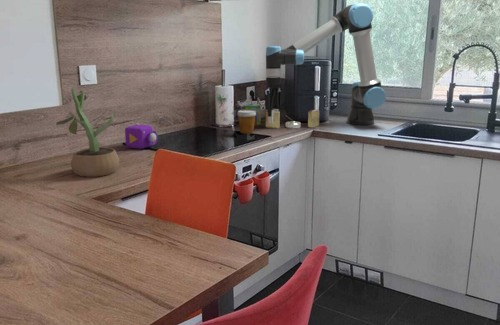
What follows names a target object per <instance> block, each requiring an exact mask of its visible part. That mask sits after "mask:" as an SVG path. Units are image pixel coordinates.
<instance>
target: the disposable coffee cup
mask: <svg viewBox="0 0 500 325" xmlns="http://www.w3.org/2000/svg"><path fill="white" fill-rule="evenodd" d="M236 115H237V118H238V125H239V133H241V134H244V135H246V134H253V133H254V130H255V129H254V128H255V125H254V122H255V116H256V112H255V111H254V110H244V109H241V110H238V111H237V113H236Z"/></svg>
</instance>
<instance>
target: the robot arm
mask: <svg viewBox="0 0 500 325" xmlns="http://www.w3.org/2000/svg"><path fill="white" fill-rule="evenodd" d="M373 18H374V11H373V9H372V7H370V6H369V5H368V4H366V3H361V2H360V3H358V2H357V3H353V4H350V5H347V6H346V7H344V8H342V10H340V11H339V12H337V13H336V14H335V15H333V16H331V19H330V20H329V21H327V22H326V23H324V24H323V25H321V26H319V27H317V28H316V29H315V30H313V31H312V32H310V33H308V34H307V35H305V36H303V37H302V38H300V39H299V40H298V41H296V42H294V43H293V44H291V45H290V46H287V47H286V48H284V49H282V48H281V46H280V45H268V46H267V47H266V49H265V84H266V85H267V89H265V90H263V93H264V109H265V110H266V111H268V122H270V123H273V111H279V110H280V109H281V107H282V94H283V93H282V92H283V88H280V86H279V85H281V82H282V81H281V80H282V79H281V76H282V74H281V73H282V72H281V69H282V67H281V66H284V65H285V66H287V65H290V66H291V65H292V66H293V65H294V66H298V65H304V62H305V54H306V53H308V52H309V51H311V50H313V49H314V48H315V47H318V45H321V44H322V43H324V42H325V41H326V40H328V39H330V38H331V37H333V36H335V35H337V34H338V33H343V32H345V31H346V30H348V34H349V35H351V36H352V38H353V45H354V46H353V47H354V51H355V58H356V63H357V69H358V70H357V71H358V73H359V80H360V81H355V82H353V83H352V84H351V96H350V97H351V98H350V99H351V102H350V110H349V112H348V115H347V119H346V122H347V123H348V124H349V125H350V124H351V125H358V126H359V125H361V126H362V125H363V126H367V125H373V124H375V116H374V112H373V109H378V108H380V107H381V106H382V105H384V103H385V102H386V98H387V94H386V91H385V90H384V89H383V87H382V83H381V79H379V78H378V76H377V70H376V69H377V68H376V63H375V59H374V51H373V45H372V39H371V31H372V29H373V25H372V21H373Z"/></svg>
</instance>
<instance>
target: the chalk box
mask: <svg viewBox="0 0 500 325" xmlns="http://www.w3.org/2000/svg"><path fill="white" fill-rule="evenodd" d="M249 99H250V103H244V104H243V110H254V111H255V112H256V116H255V122H254V126H255V125H262V121H261V118H262V116H261V114H262V113H261V109H262V108H261V107H262V106H261V104H260V103H253V101H252V98H249Z"/></svg>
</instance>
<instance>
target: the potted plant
mask: <svg viewBox="0 0 500 325" xmlns="http://www.w3.org/2000/svg"><path fill="white" fill-rule="evenodd" d="M78 93H79V94H78V95H77V93H76V88H71V94H72V99H73V102H74V104H75V105H74V107H75V112H76V114H77V116H78V117H79V118H78V117H77V116H76V115H75V114H73V113H72V112H71V111H69V112H68V114H69V115H70V117H68V118H65V119H63V120H59V121H57V122H56V124H55V125H56V126H59V125H64V124H67V123H69V122H70V121H72V122H71V123H70V124H69V126H68V131H69V133H70V134H74V135H77V132H78V131H77V130H78V123H79V124H80V125H81V126H82V128H84V131H85V134H86V137H87V139H88V146H89V147H87V148H86V147H85V148H81V149H78V150H77V149H76V150H75V151H74V152H73V155H72V158H71V161H70V167H71V170H72V172H74V174H75V175H77V176H79V175H80V177H83V176H87V177H86V178H95V177H98V176H99V177H105V176H109V175H112V174H114V173H115V172H116V171H117V170H119V166H120V156H119V155H118V153H117V152H116V150H115V149H114V148H112V147H109V146H108V147H106V146H105V147H104V146H100V144H99V143H100V142H99V139H98V138H97V136H98V135H99V134H101V133H102V132H104V131H105V130H107V129H108V128H109V127H110V126H111V124H112V123H113V121H114V118H115V114H114V112H112V114H111V116H110V117H104V116H102V121H106V120H108V121H107V122H105V123H104V124H103V125H102V126H100V127H98V128H97V129H96V130H95V129H94V127H93V126H92V124H91V123H90V121H89V118H88V117H86V114H85V113H84V112H83V109H84V103H85V101H86V100H87V98H88V97H87V96H86V94H85V92H84V91H83V90H79V92H78ZM104 175H105V176H104Z"/></svg>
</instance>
